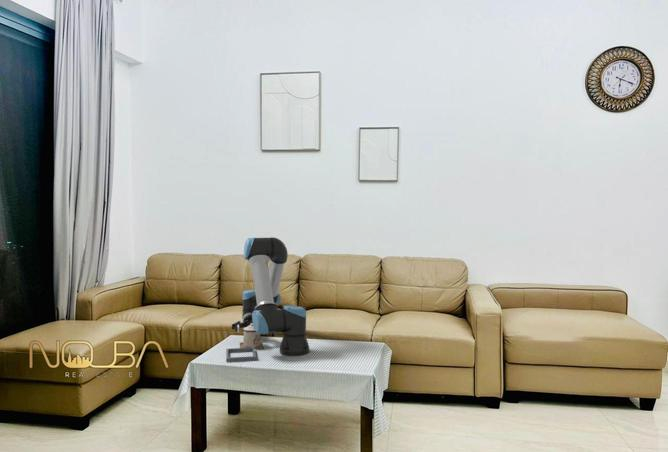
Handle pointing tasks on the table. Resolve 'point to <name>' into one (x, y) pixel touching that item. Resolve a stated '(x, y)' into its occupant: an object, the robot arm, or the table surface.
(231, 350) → the holder tray
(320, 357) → the table surface
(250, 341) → the teacup with lid
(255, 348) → the walnut coaster
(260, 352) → the table surface
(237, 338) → the table surface
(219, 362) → the table surface
